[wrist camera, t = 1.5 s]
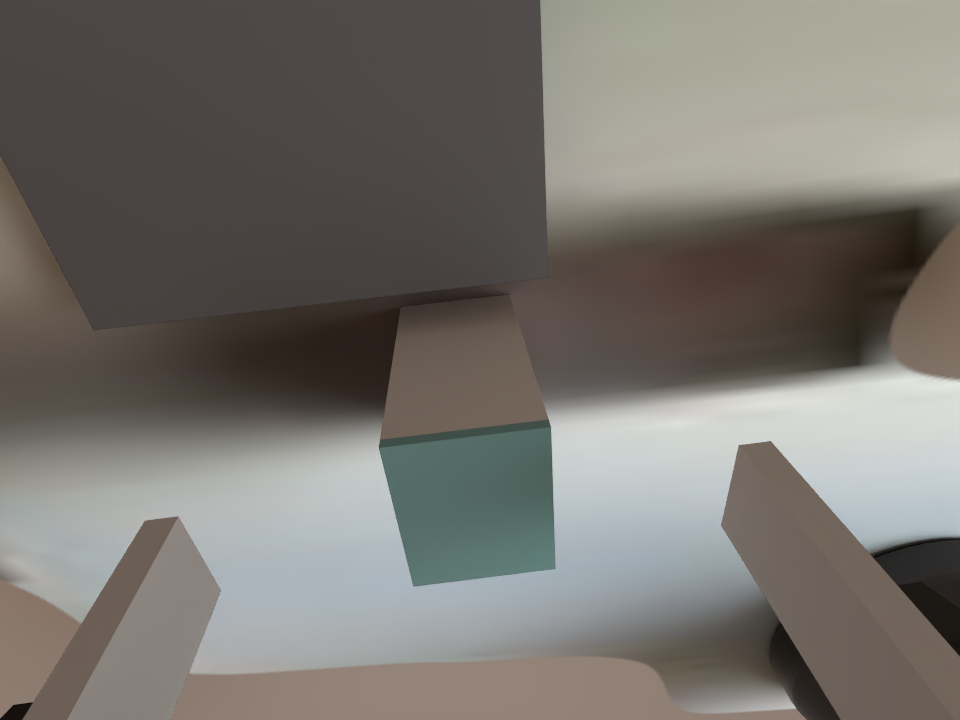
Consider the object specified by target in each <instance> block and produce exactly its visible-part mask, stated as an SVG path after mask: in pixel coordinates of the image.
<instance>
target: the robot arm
mask: <svg viewBox="0 0 960 720" xmlns="http://www.w3.org/2000/svg"><path fill="white" fill-rule="evenodd" d="M721 526H722V528H723V529H724V531H725V532H726V534H727V536H728V537H729V539H730V541H731V542H732V544H733V545H734V547H735V549H736V550H737V552H738V554H739V555H740V557H741V558H742V560H743V562H744V563H745V565H746V567H747V568H748V570H749V571H750V573H751V575H752V576H753V578H754V580H755V581H756V583H757V584H758V586H759V588H760V589H761V591H762V593H763V594H764V596H765V597H766V599H767V601H768V602H769V604H770V606H771V607H772V609H773V610H774V612H775V614H776V615H777V617H778V619H779V620H780V622H781V625H780V626H779V628H778V630H777V631H776V633H775V635H774V638H773V640H772V644H771V648H770V661H771V665H772V667H773V669H774V671H775V673H776V675H777V677H778V678H779V680H780V682H781V684H782V685H783V687H784V689H785V691H786V693H787V694H788V696H789V698H790V700H791V701H792V703H793V704H794V706H795V707H796V708H797V710H798V711H799V712H800V713H801V714H802V715H803V716H804V717H805V718H806V719H807V720H960V540H948V541H938V542H931V543H925V544H920V545H915V546H911V547H907V548H903V549H900V550H896V551H893V552H890V553H887V554H884V555H881V556H879V557H876V558H873V557H872V556H871V555H870V554H869V553H868V551H867V550H866V549H865V548H864V547H863V546H862V545H861V543H860V542H859V541H858V540H857V539H856V538H855V537H854V535H853V534H852V533H851V532H850V531H849V530H848V529H847V528H846V526H845V525H844V524H843V523H842V522H841V521H840V520H839V518H838V517H837V516H836V515H835V514H834V513H833V512H832V510H831V509H830V508H829V507H828V506H827V505H826V504H825V502H824V501H823V500H822V499H821V498H820V497H819V496H818V494H817V493H816V492H815V491H814V490H813V489H812V488H811V487H810V485H809V484H808V483H807V482H806V481H805V480H804V479H803V477H802V476H801V475H800V474H799V473H798V472H797V471H796V469H795V468H794V467H793V466H792V465H791V464H790V463H789V461H788V460H787V459H786V458H785V457H784V456H783V455H782V453H781V452H780V451H779V450H778V449H777V448H776V447H775V446H774V444H773V443H772V442H771V441H769V442H761V443H753V444H745V445H739V447H738V452H737V456H736V461H735V465H734V470H733V474H732V479H731V483H730V488H729V492H728V497H727V501H726V506H725V510H724V515H723V519H722V524H721ZM220 592H221V590H220V588H219V586H218V584H217V583H216V581H215V579H214V577H213V576H212V574H211V572H210V570H209V569H208V567H207V565H206V563H205V562H204V560H203V558H202V556H201V555H200V553H199V551H198V550H197V548H196V546H195V544H194V543H193V541H192V539H191V537H190V536H189V534H188V532H187V530H186V529H185V527H184V525H183V523H182V522H181V520H180V518H179V517H171V518H163V519H155V520H147V521H145V522H144V523H143V525H142V527H141V528H140V530H139V531H138V533H137V535H136V536H135V538H134V540H133V541H132V543H131V544H130V546H129V548H128V549H127V551H126V553H125V554H124V556H123V557H122V559H121V561H120V562H119V564H118V565H117V567H116V569H115V570H114V572H113V574H112V575H111V577H110V578H109V580H108V582H107V583H106V585H105V587H104V588H103V590H102V591H101V593H100V595H99V596H98V598H97V600H96V601H95V603H94V604H93V606H92V608H91V609H90V611H89V613H88V614H87V616H86V617H85V619H84V621H83V622H82V624H81V626H80V627H79V629H78V630H77V632H76V634H75V635H74V637H73V639H72V640H71V642H70V643H69V645H68V647H67V649H66V650H65V652H64V653H63V655H62V657H61V658H60V660H59V661H58V663H57V665H56V666H55V668H54V670H53V671H52V673H51V674H50V676H49V678H48V679H47V681H46V683H45V684H44V686H43V687H42V689H41V690H40V692H39V694H38V695H37V697H36V699H35V700H34V702H32V703H25V704H17V705H13V706H12V707H11V708H10V709H9V710H8V711H7V712H6V713H5V714H4V715H3V717H1V719H0V720H170V719H171V716H172V714H173V712H174V709H175V706H176V704H177V701H178V699H179V696H180V694H181V691H182V689H183V686H184V684H185V681H186V678H187V676H188V673H189V671H190V668H191V666H192V663H193V661H194V658H195V656H196V653H197V651H198V648H199V645H200V643H201V640H202V638H203V635H204V633H205V630H206V628H207V625H208V623H209V620H210V618H211V615H212V612H213V610H214V607H215V605H216V602H217V600H218V597H219V595H220Z"/></svg>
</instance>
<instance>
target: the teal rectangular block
mask: <svg viewBox="0 0 960 720" xmlns="http://www.w3.org/2000/svg"><path fill="white" fill-rule="evenodd" d="M379 450H380V454H381V458H382V462H383V466H384V470H385V474H386V478H387V482H388V486H389V490H390V494H391V498H392V502H393V506H394V510H395V514H396V518H397V522H398V526H399V530H400V534H401V538H402V542H403V546H404V550H405V554H406V558H407V562H408V566H409V571H410V575H411V579H412V583H413V586H421V585H429V584H437V583H445V582H453V581H461V580H470V579H478V578H486V577H494V576H502V575H510V574H518V573H526V572H534V571H542V570H550V569H555V542H554V510H553V477H552V445H551V426H550V423H549V419H548V416H547V413H546V410H545V407H544V404H543V400H542V397H541V394H540V391H539V388H538V384H537V381H536V378H535V375H534V372H533V368H532V365H531V362H530V359H529V356H528V353H527V349H526V346H525V343H524V340H523V337H522V333H521V330H520V327H519V324H518V321H517V318H516V314H515V311H514V308H513V305H512V302H511V298H510V295H509V294H508V295H500V296H491V297H483V298H474V299H465V300H457V301H448V302H440V303H431V304H422V305H414V306H405V307H401V309H400V315H399V322H398V328H397V335H396V341H395V347H394V354H393V360H392V367H391V373H390V380H389V386H388V392H387V399H386V405H385V412H384V418H383V425H382V431H381V438H380V444H379Z"/></svg>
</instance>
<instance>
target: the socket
mask: <svg viewBox="0 0 960 720" xmlns="http://www.w3.org/2000/svg"><path fill="white" fill-rule="evenodd" d="M0 155H1V157H2V159H3V161H4V163H5V164H6V166H7V168H8V170H9V172H10V174H11V176H12V178H13V179H14V181H15V183H16V185H17V187H18V189H19V191H20V193H21V194H22V196H23V198H24V200H25V202H26V204H27V206H28V208H29V210H30V211H31V213H32V215H33V217H34V219H35V221H36V223H37V225H38V226H39V228H40V230H41V232H42V234H43V236H44V238H45V240H46V241H47V243H48V245H49V247H50V249H51V251H52V253H53V255H54V256H55V258H56V260H57V262H58V264H59V266H60V268H61V270H62V272H63V273H64V275H65V277H66V279H67V281H68V283H69V285H70V287H71V288H72V290H73V292H74V294H75V296H76V298H77V300H78V302H79V303H80V305H81V307H82V309H83V311H84V313H85V315H86V317H87V318H88V320H89V322H90V324H91V326H92V328H93V330H100V329H109V328H117V327H126V326H135V325H143V324H152V323H161V322H169V321H178V320H186V319H195V318H204V317H212V316H221V315H230V314H238V313H247V312H255V311H264V310H273V309H281V308H290V307H299V306H307V305H316V304H325V303H333V302H342V301H350V300H359V299H368V298H376V297H385V296H394V295H402V294H411V293H419V292H428V291H437V290H445V289H454V288H463V287H471V286H480V285H488V284H497V283H506V282H514V281H523V280H532V279H540V278H548V257H547V223H546V188H545V154H544V119H543V85H542V50H541V16H540V0H0Z"/></svg>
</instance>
